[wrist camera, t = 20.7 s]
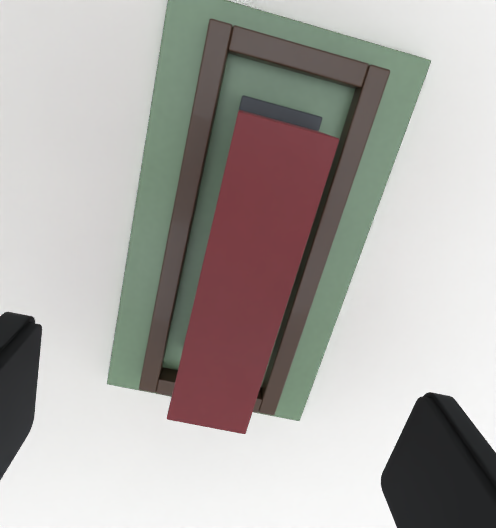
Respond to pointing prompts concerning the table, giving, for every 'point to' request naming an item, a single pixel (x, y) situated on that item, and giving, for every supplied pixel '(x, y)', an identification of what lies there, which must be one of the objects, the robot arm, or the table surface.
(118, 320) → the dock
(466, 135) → the table surface
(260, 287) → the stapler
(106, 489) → the table surface
